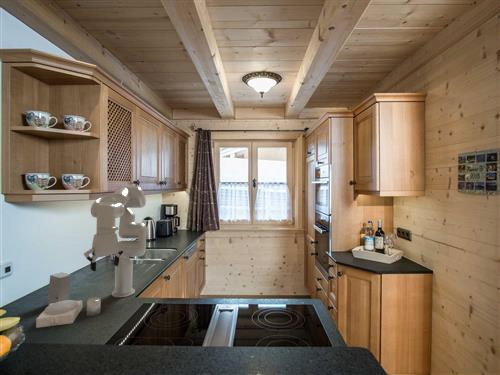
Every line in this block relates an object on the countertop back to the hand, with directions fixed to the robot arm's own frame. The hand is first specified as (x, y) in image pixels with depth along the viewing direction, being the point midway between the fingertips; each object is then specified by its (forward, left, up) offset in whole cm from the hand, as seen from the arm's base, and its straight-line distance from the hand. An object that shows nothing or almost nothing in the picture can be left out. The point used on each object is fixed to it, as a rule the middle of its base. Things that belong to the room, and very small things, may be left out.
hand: (105, 268), depth 118 cm
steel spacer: (-16, -8, -27) cm, 32 cm away
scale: (-16, -22, -27) cm, 38 cm away
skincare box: (-33, -28, -27) cm, 51 cm away
